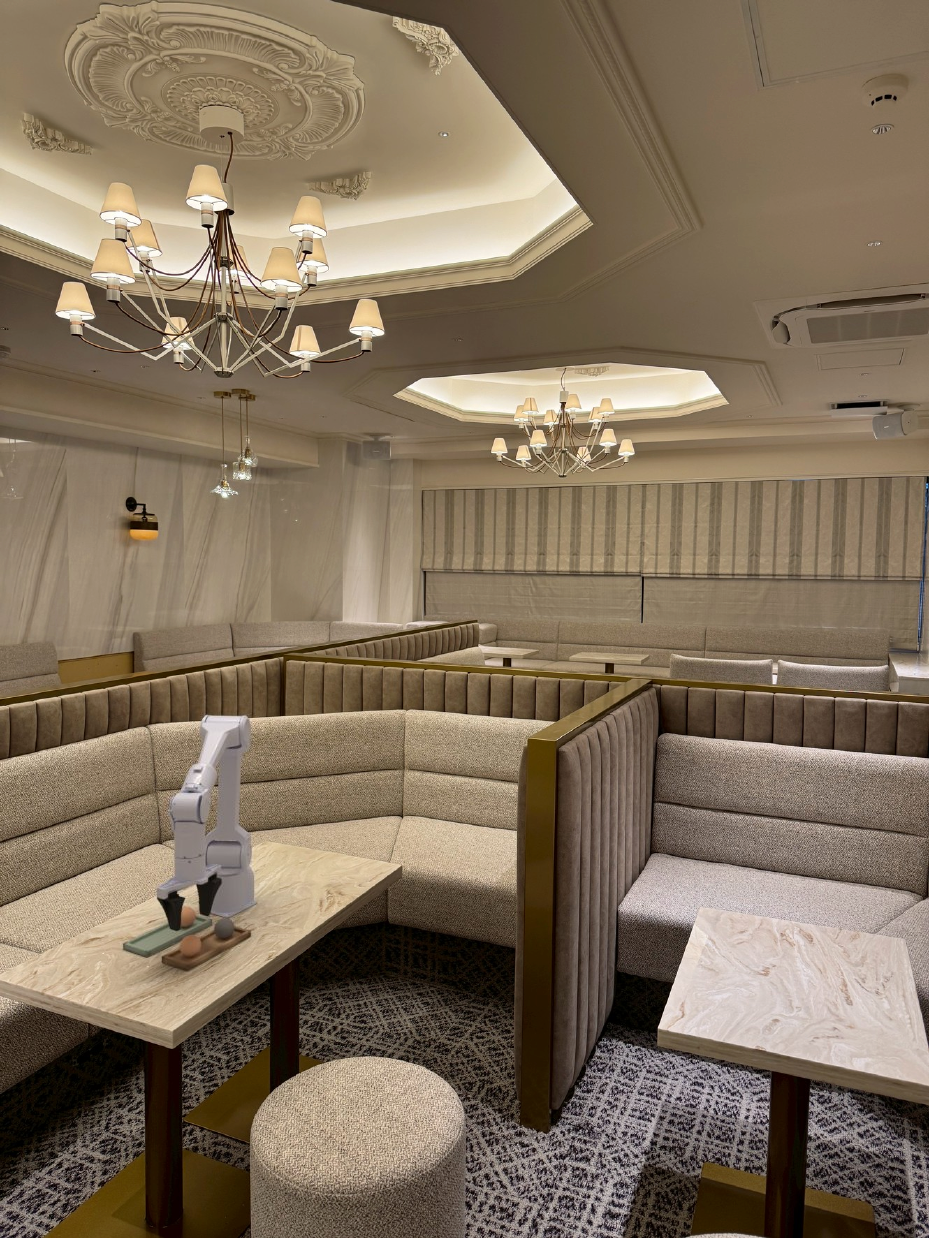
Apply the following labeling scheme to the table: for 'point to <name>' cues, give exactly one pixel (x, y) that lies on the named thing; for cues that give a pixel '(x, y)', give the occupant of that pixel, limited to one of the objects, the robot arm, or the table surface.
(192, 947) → the terracotta ball
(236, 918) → the table surface
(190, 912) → the terracotta ball
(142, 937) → the trough green
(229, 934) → the charcoal ball
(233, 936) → the trough walnut
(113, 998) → the table surface
